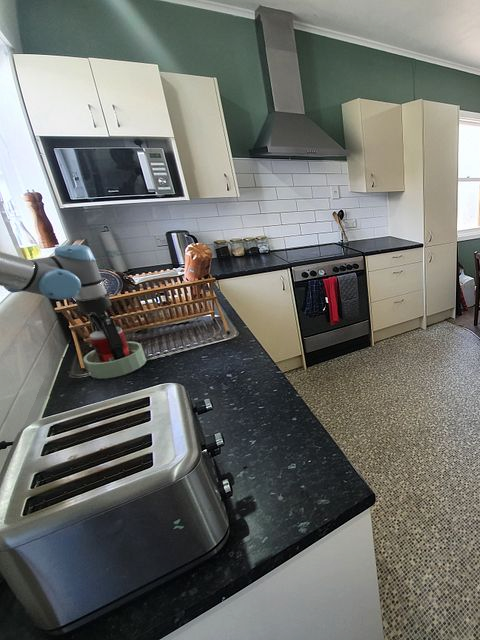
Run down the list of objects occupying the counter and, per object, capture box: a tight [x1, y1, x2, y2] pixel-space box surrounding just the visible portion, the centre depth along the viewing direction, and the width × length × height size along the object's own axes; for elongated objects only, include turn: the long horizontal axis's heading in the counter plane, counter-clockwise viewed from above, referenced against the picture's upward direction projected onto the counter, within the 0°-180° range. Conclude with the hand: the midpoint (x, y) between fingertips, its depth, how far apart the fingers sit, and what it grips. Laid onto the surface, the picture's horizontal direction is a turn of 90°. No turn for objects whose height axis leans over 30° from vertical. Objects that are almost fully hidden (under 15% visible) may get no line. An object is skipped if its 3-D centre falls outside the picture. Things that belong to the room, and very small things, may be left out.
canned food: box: [89, 326, 131, 363], centre depth 112 cm, size 8×8×11 cm
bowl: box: [82, 341, 147, 380], centre depth 114 cm, size 15×15×6 cm
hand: (117, 360), depth 115 cm, fingers closed on canned food, 8 cm apart
